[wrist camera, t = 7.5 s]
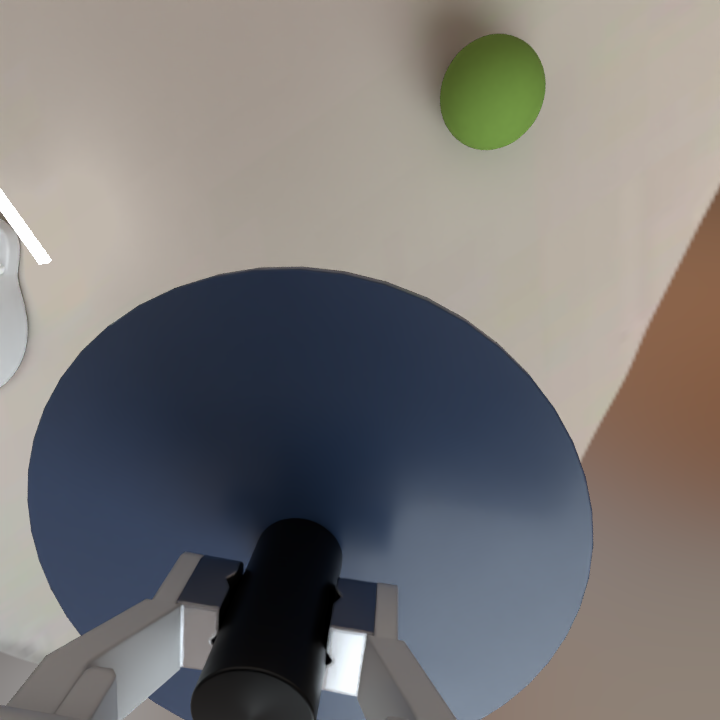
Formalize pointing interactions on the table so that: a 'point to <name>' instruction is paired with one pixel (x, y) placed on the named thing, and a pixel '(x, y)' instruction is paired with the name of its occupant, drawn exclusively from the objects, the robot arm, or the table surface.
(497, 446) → the pot lid
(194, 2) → the table surface
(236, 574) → the robot arm
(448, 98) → the guava
